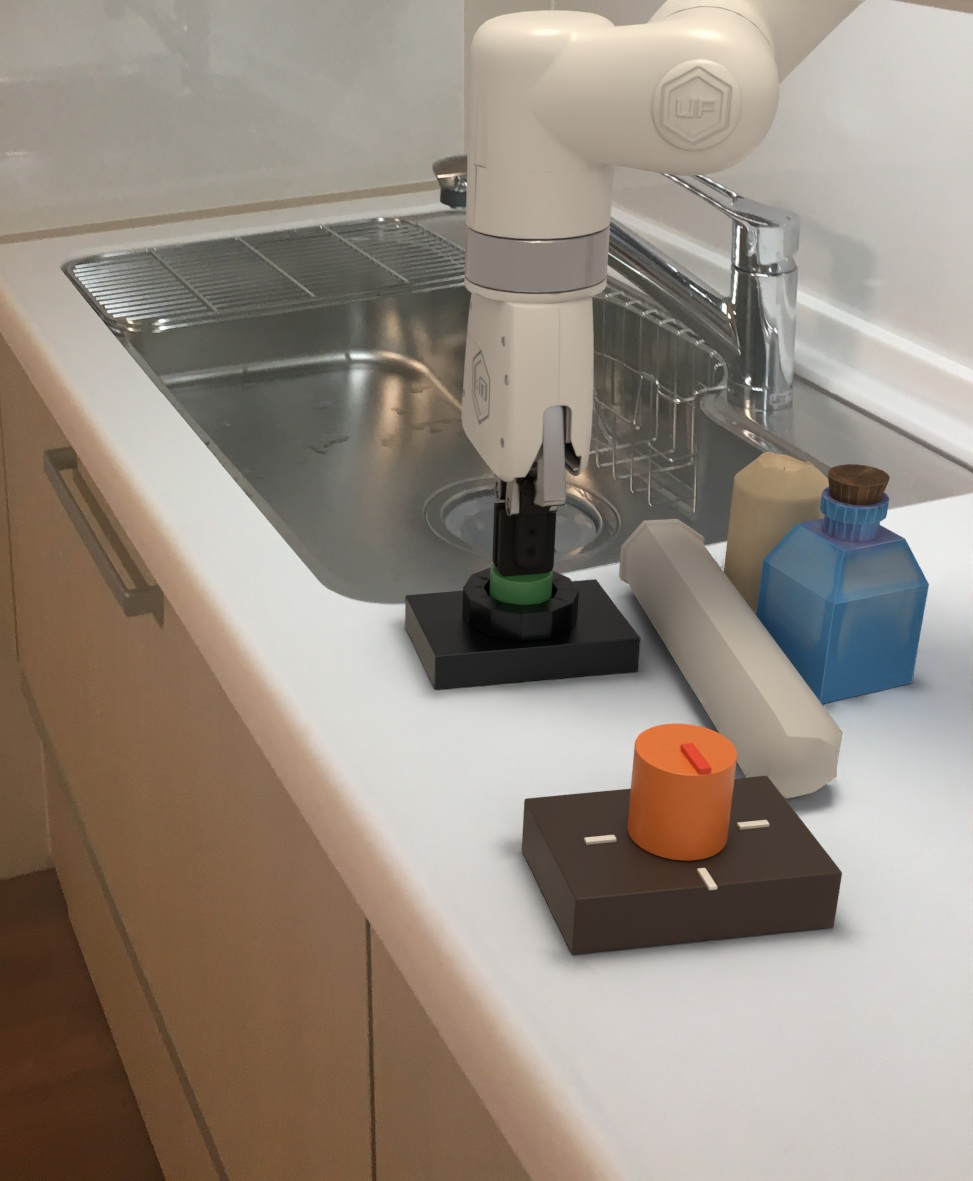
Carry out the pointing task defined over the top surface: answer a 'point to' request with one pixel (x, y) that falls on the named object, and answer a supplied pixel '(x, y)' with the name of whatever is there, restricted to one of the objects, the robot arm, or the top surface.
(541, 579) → the button
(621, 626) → the button housing
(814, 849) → the dial block
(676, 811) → the dial knob
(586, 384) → the robot arm
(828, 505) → the perfume bottle
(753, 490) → the candle
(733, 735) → the tube
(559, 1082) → the top surface
